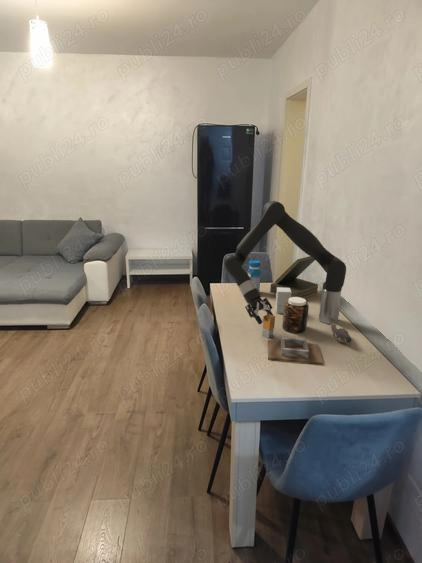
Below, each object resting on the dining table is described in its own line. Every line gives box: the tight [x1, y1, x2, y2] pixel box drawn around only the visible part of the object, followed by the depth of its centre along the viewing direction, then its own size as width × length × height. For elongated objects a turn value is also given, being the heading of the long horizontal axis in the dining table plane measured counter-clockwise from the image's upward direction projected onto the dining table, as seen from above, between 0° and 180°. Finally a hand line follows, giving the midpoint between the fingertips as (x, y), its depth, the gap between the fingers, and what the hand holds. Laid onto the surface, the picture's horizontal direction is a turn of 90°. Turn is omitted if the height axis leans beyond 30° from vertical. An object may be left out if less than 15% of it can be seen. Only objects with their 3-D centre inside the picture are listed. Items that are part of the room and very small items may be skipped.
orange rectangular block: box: [261, 313, 276, 339], centre depth 171 cm, size 5×4×10 cm
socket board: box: [267, 337, 324, 366], centre depth 157 cm, size 22×16×4 cm
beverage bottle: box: [246, 259, 262, 292], centre depth 226 cm, size 8×8×20 cm
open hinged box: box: [269, 255, 319, 299], centre depth 226 cm, size 23×20×25 cm
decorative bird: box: [327, 317, 353, 346], centre depth 173 cm, size 6×25×5 cm, turn 5°
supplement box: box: [275, 287, 292, 314], centre depth 199 cm, size 7×7×13 cm
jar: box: [282, 297, 310, 334], centre depth 179 cm, size 12×12×15 cm
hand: (266, 321), depth 171 cm, fingers open, 8 cm apart
